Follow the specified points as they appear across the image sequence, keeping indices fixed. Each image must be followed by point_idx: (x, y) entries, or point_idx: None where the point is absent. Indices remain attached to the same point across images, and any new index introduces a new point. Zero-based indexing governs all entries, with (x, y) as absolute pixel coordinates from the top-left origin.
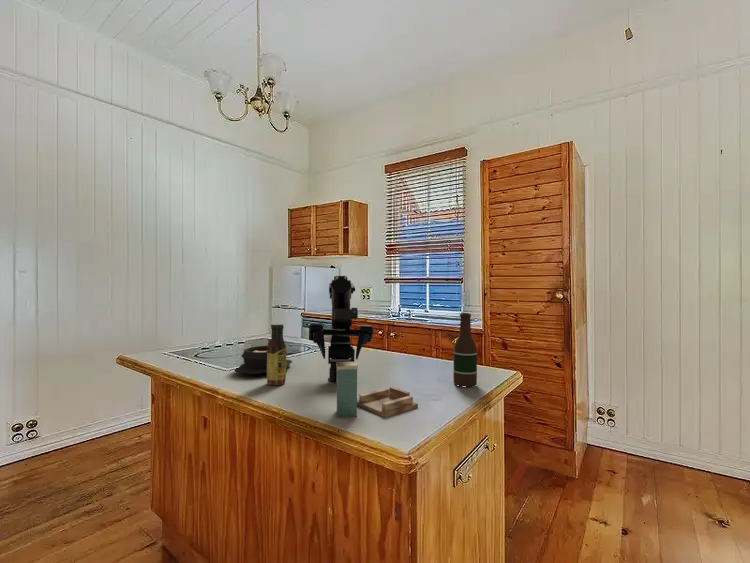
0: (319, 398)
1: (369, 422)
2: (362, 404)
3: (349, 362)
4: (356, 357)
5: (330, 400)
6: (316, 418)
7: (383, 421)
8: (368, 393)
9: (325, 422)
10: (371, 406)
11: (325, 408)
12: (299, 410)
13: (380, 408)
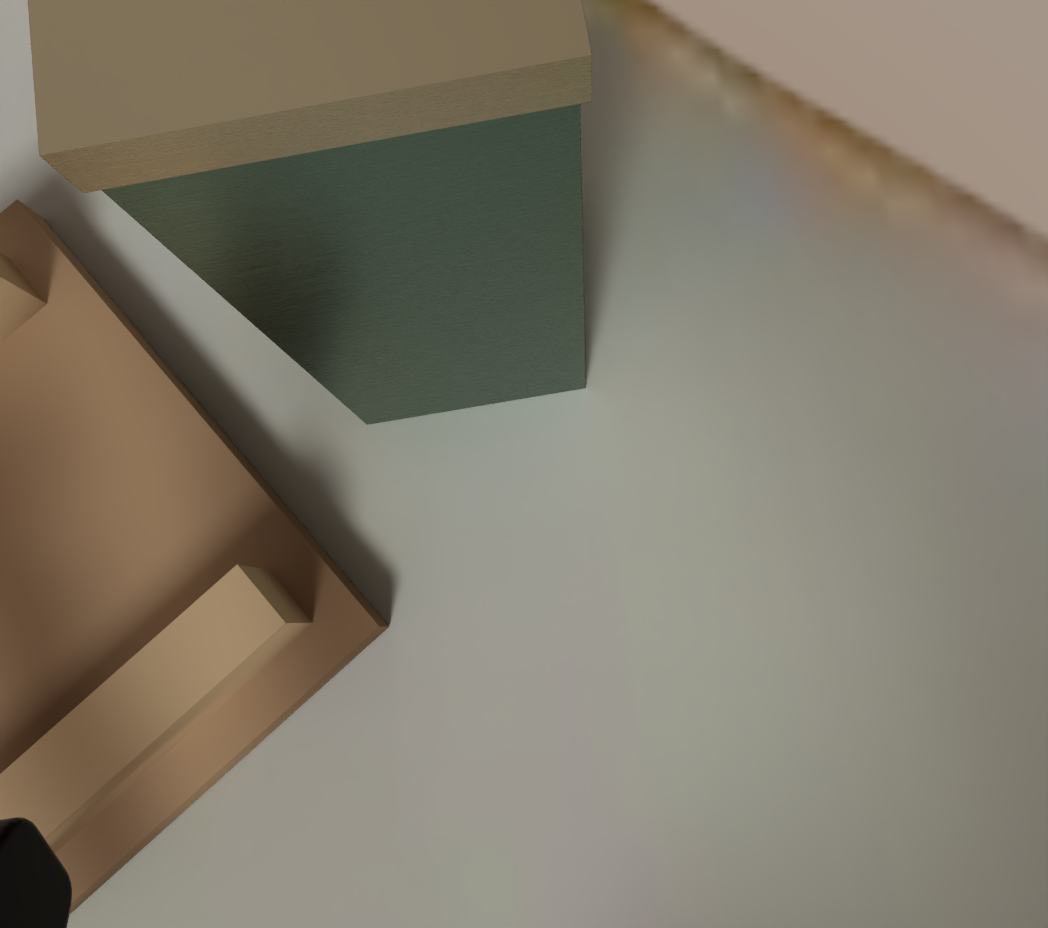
0: (903, 887)
1: None
2: (269, 494)
3: (215, 38)
4: (15, 818)
5: (726, 796)
6: (773, 147)
7: None
8: (152, 688)
9: (654, 48)
10: (160, 420)
11: (734, 469)
12: (1043, 382)
13: (58, 358)
